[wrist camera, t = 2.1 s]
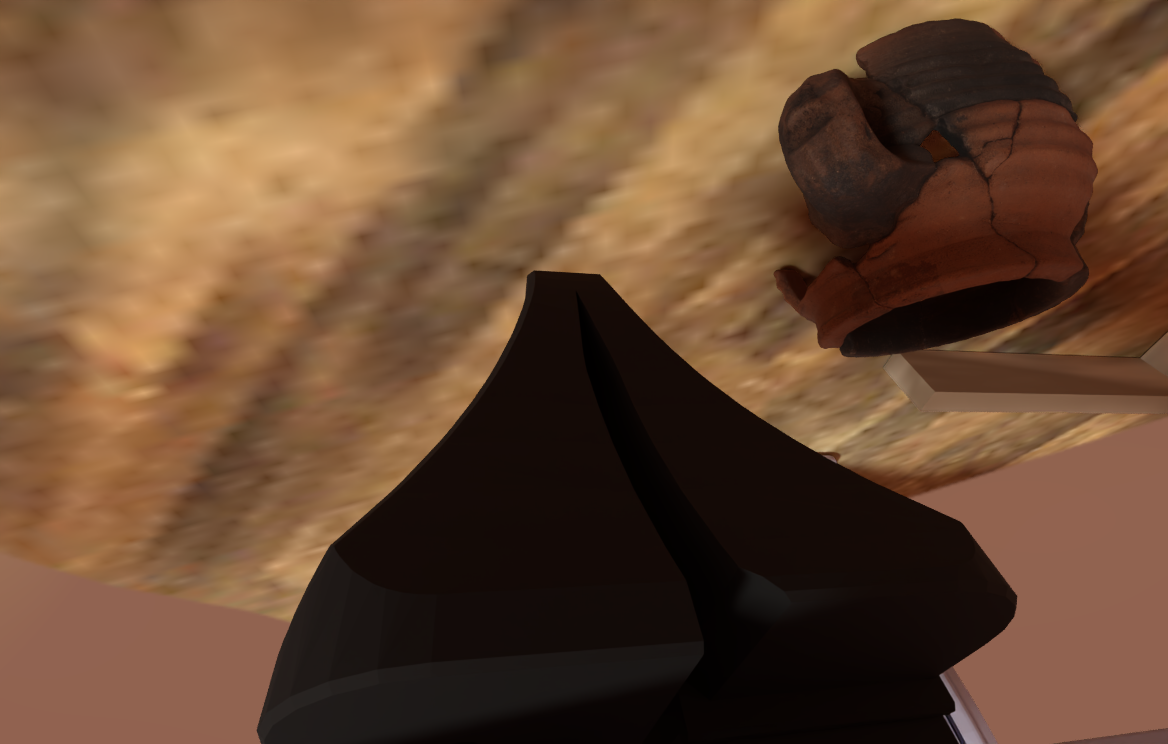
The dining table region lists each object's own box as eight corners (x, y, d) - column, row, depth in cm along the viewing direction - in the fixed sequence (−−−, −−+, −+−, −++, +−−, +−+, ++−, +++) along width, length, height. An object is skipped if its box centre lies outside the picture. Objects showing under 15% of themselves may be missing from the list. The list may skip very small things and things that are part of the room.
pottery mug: (1072, 68, 18) (1180, 282, 16) (823, 216, 25) (870, 379, 23) (900, -157, 11) (1043, 157, 9) (629, 133, 19) (666, 349, 16)
